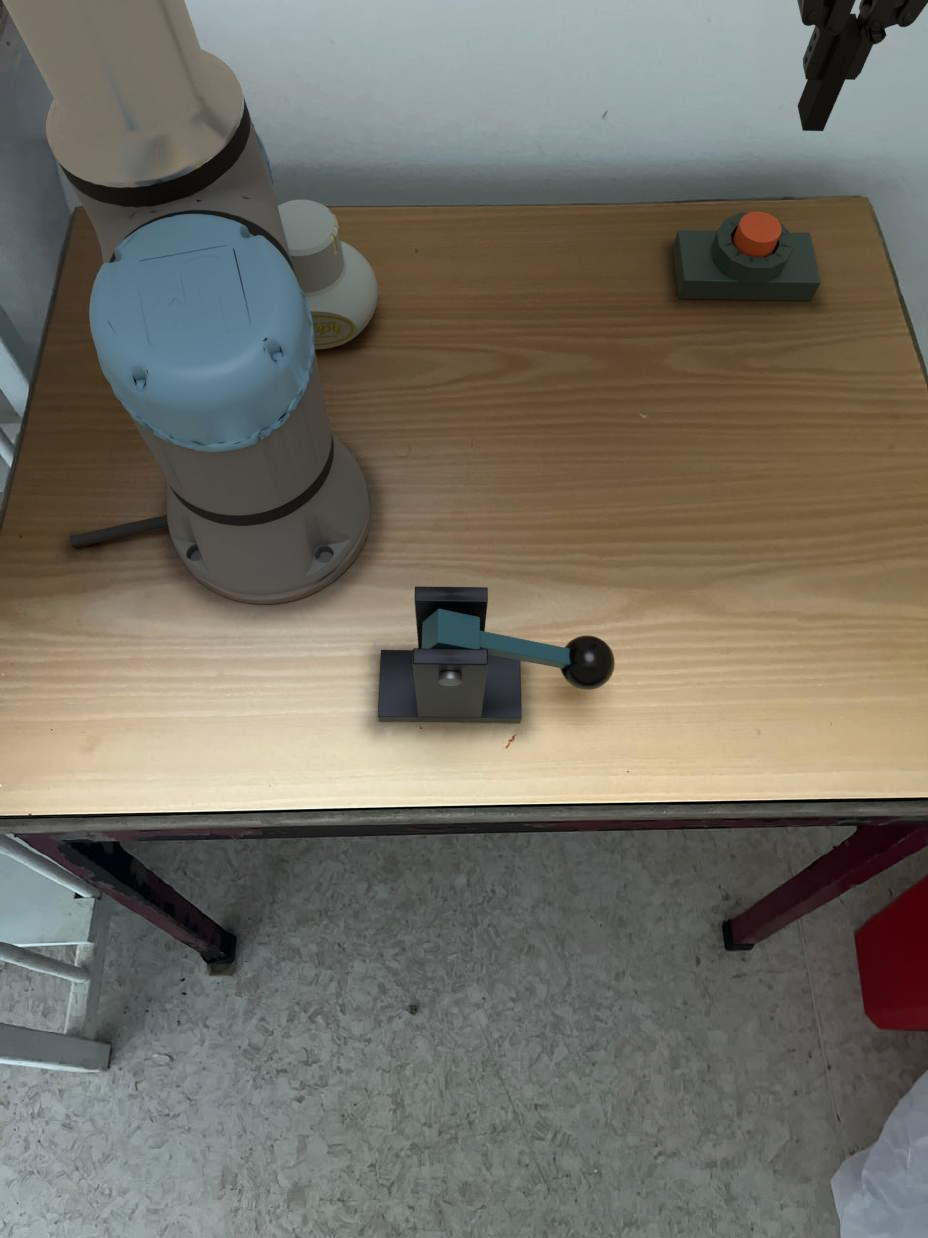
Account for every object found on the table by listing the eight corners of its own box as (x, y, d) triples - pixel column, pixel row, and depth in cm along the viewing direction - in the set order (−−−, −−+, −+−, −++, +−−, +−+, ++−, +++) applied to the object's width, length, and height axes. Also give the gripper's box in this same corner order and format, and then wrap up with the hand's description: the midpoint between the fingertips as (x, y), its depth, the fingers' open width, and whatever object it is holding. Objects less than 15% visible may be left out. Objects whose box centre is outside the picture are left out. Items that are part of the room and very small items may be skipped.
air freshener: (254, 359, 72) (226, 267, 63) (255, 285, 76) (229, 188, 66) (382, 352, 73) (373, 261, 64) (378, 279, 76) (368, 182, 67)
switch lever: (592, 650, 59) (623, 633, 56) (595, 700, 57) (627, 684, 54) (418, 615, 53) (443, 593, 50) (417, 669, 52) (442, 650, 49)
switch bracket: (518, 650, 62) (533, 580, 51) (520, 730, 60) (536, 673, 49) (382, 649, 62) (368, 577, 51) (378, 728, 60) (363, 671, 49)
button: (735, 257, 73) (742, 241, 72) (730, 227, 75) (737, 210, 73) (777, 258, 73) (784, 242, 72) (771, 228, 75) (778, 211, 73)
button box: (678, 300, 76) (690, 266, 72) (671, 246, 78) (682, 210, 75) (811, 303, 76) (830, 268, 72) (800, 249, 79) (817, 213, 75)
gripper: (877, -310, 39) (727, 152, 61) (1160, -305, 39) (908, 155, 61) (850, -384, 42) (716, 82, 64) (1113, -379, 42) (889, 85, 64)
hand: (810, 117), depth 62 cm, fingers closed
